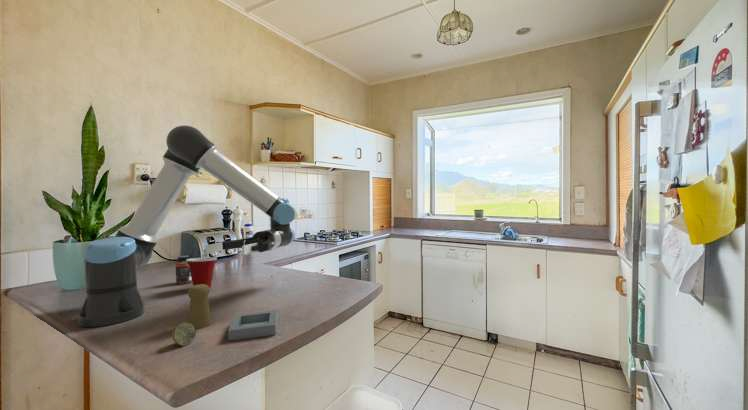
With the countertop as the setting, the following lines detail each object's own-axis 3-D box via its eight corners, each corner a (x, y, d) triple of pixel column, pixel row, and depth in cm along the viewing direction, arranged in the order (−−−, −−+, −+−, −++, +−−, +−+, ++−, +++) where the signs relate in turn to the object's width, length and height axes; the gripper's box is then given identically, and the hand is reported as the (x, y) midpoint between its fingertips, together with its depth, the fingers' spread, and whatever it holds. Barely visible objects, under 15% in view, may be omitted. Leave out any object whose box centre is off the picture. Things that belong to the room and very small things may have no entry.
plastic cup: (224, 284, 127) (223, 255, 127) (206, 292, 116) (205, 260, 116) (200, 284, 129) (199, 255, 128) (180, 291, 118) (179, 260, 118)
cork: (194, 321, 88) (192, 282, 88) (216, 319, 89) (214, 281, 88) (182, 329, 82) (181, 288, 82) (206, 328, 83) (205, 287, 82)
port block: (228, 340, 75) (228, 330, 75) (235, 323, 85) (235, 314, 85) (275, 334, 78) (275, 324, 78) (277, 318, 88) (276, 310, 88)
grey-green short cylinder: (197, 338, 77) (197, 318, 77) (188, 347, 72) (187, 326, 72) (178, 340, 76) (178, 319, 76) (168, 349, 71) (167, 327, 71)
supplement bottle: (195, 281, 132) (194, 255, 132) (180, 285, 127) (179, 258, 127) (188, 280, 135) (187, 254, 135) (173, 283, 130) (172, 256, 130)
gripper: (296, 251, 112) (259, 263, 91) (238, 250, 118) (191, 261, 98) (295, 230, 111) (259, 238, 91) (237, 230, 118) (191, 237, 98)
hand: (224, 250), depth 94 cm, fingers open, 13 cm apart
